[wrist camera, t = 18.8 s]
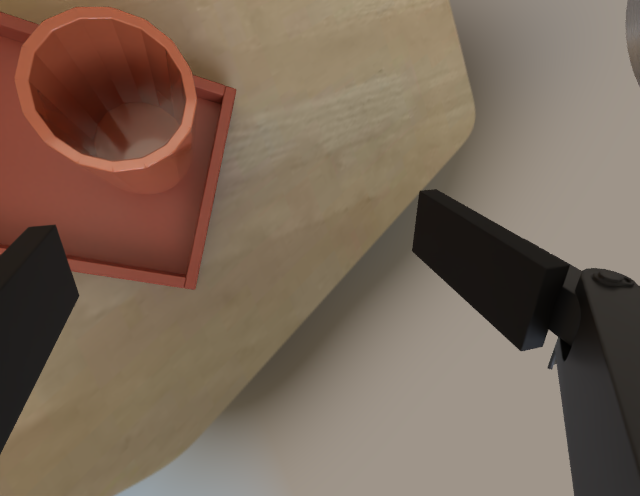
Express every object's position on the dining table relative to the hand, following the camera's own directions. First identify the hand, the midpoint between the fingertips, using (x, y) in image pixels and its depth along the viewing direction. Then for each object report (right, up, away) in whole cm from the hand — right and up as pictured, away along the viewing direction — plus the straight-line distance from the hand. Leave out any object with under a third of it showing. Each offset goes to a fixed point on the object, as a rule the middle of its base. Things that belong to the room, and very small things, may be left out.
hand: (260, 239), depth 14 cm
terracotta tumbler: (-11, +7, +14) cm, 19 cm away
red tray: (-14, +6, +13) cm, 20 cm away
